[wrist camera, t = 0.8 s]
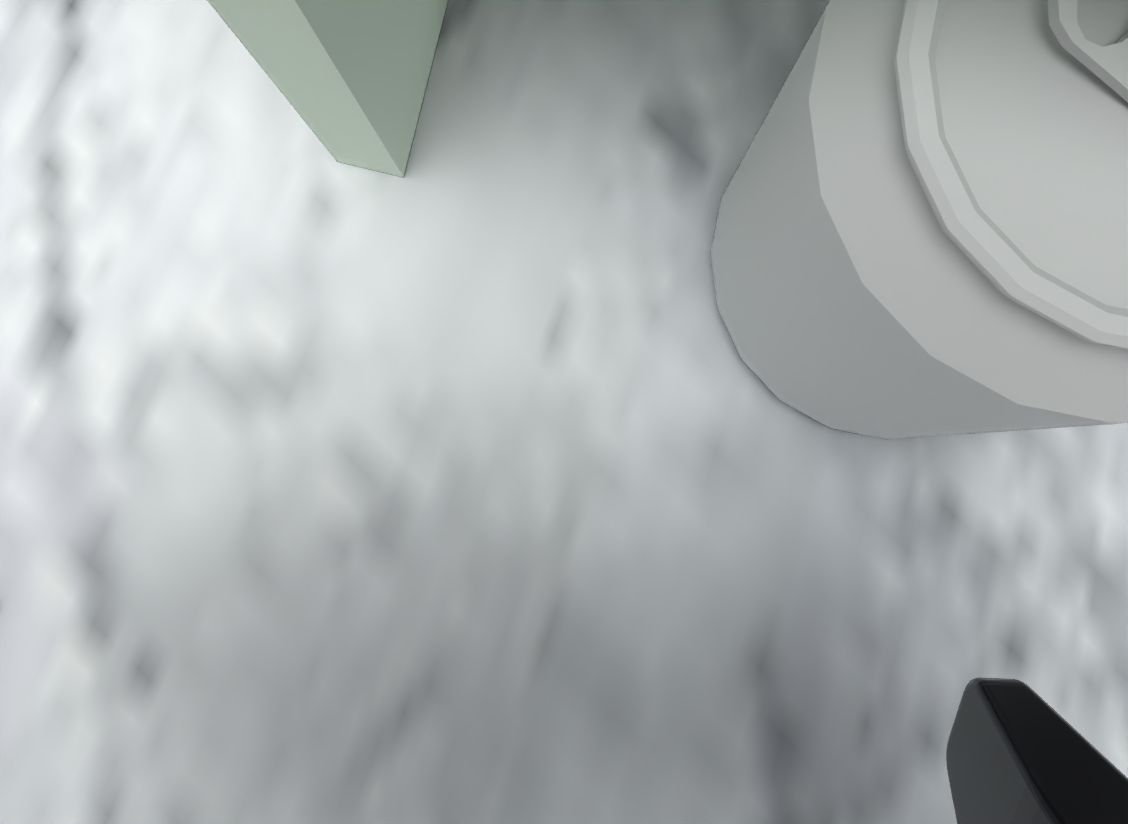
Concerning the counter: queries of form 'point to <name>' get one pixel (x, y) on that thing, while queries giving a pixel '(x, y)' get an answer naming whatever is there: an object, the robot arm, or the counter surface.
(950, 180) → the can
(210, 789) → the counter surface
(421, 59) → the shelf
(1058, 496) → the counter surface
